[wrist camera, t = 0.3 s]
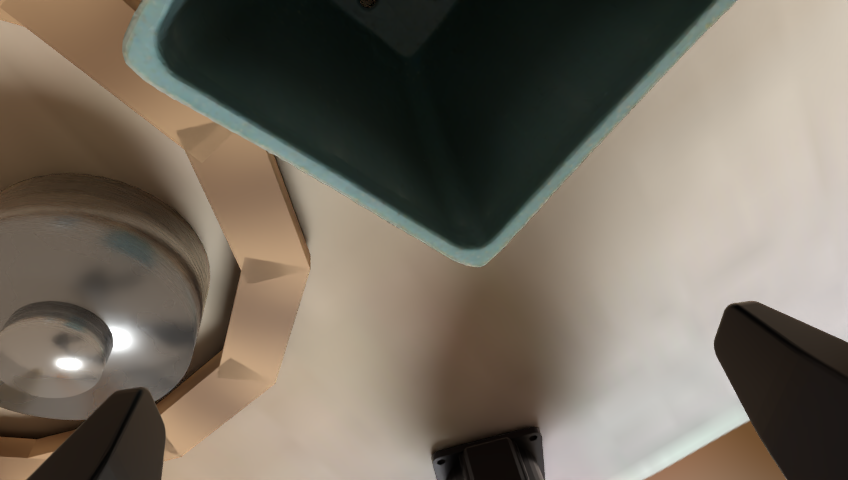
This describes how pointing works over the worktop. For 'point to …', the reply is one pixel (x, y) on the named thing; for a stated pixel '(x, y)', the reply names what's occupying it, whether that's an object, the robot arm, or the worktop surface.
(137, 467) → the robot arm
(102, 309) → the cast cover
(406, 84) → the flower pot
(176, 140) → the brown ring with post
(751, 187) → the worktop surface
